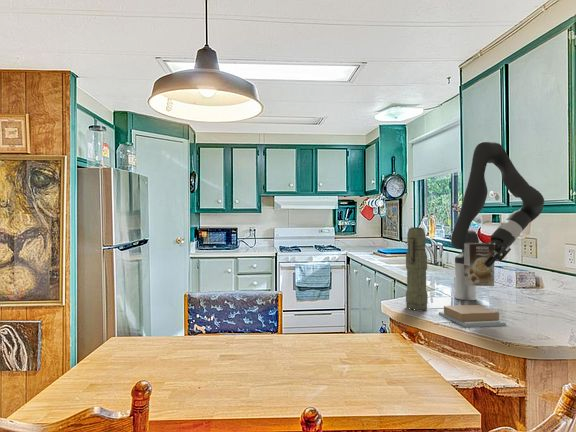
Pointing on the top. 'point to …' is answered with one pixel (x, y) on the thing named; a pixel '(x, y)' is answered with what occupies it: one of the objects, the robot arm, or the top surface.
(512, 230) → the robot arm
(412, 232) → the thermos
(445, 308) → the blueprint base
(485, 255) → the coffee box
